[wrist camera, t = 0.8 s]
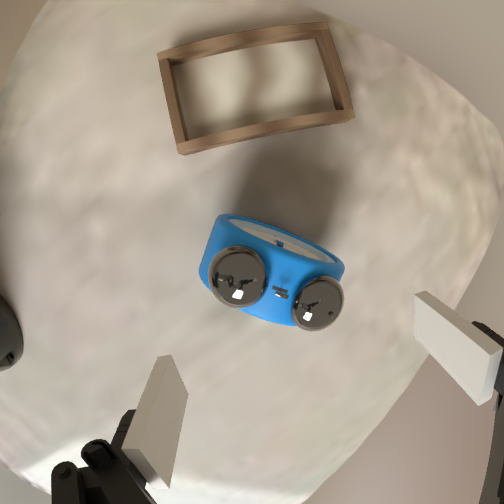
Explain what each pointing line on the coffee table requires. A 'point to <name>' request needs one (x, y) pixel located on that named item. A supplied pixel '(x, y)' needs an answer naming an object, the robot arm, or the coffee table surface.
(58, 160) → the coffee table surface
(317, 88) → the open rectangular wooden box
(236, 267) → the alarm clock
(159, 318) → the coffee table surface
